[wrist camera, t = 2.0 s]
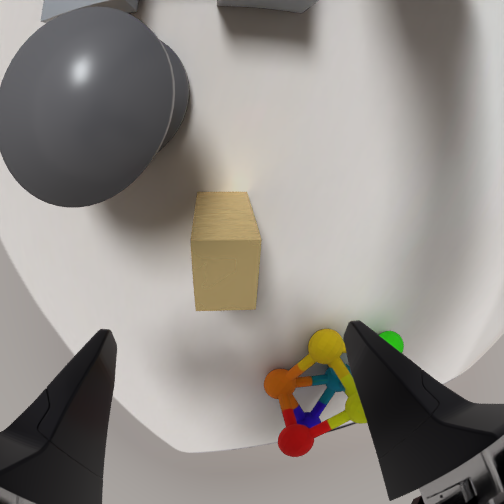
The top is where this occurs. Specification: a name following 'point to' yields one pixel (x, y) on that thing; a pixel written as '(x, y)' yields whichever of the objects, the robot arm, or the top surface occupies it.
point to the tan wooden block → (225, 252)
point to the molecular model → (336, 379)
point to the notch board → (60, 3)
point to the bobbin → (89, 106)
